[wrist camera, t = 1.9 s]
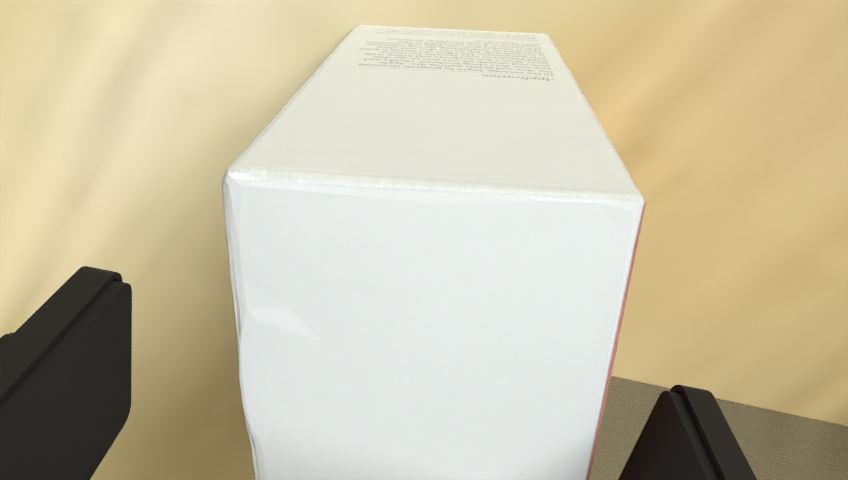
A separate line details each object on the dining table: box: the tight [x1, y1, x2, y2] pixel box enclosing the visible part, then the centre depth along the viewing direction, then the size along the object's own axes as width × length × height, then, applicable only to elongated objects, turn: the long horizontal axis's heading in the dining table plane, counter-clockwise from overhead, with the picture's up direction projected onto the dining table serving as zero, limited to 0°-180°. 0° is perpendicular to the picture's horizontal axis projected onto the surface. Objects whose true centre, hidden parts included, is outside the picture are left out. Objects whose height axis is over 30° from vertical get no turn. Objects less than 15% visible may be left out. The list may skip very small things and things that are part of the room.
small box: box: [222, 25, 646, 480], centre depth 17 cm, size 8×6×13 cm
